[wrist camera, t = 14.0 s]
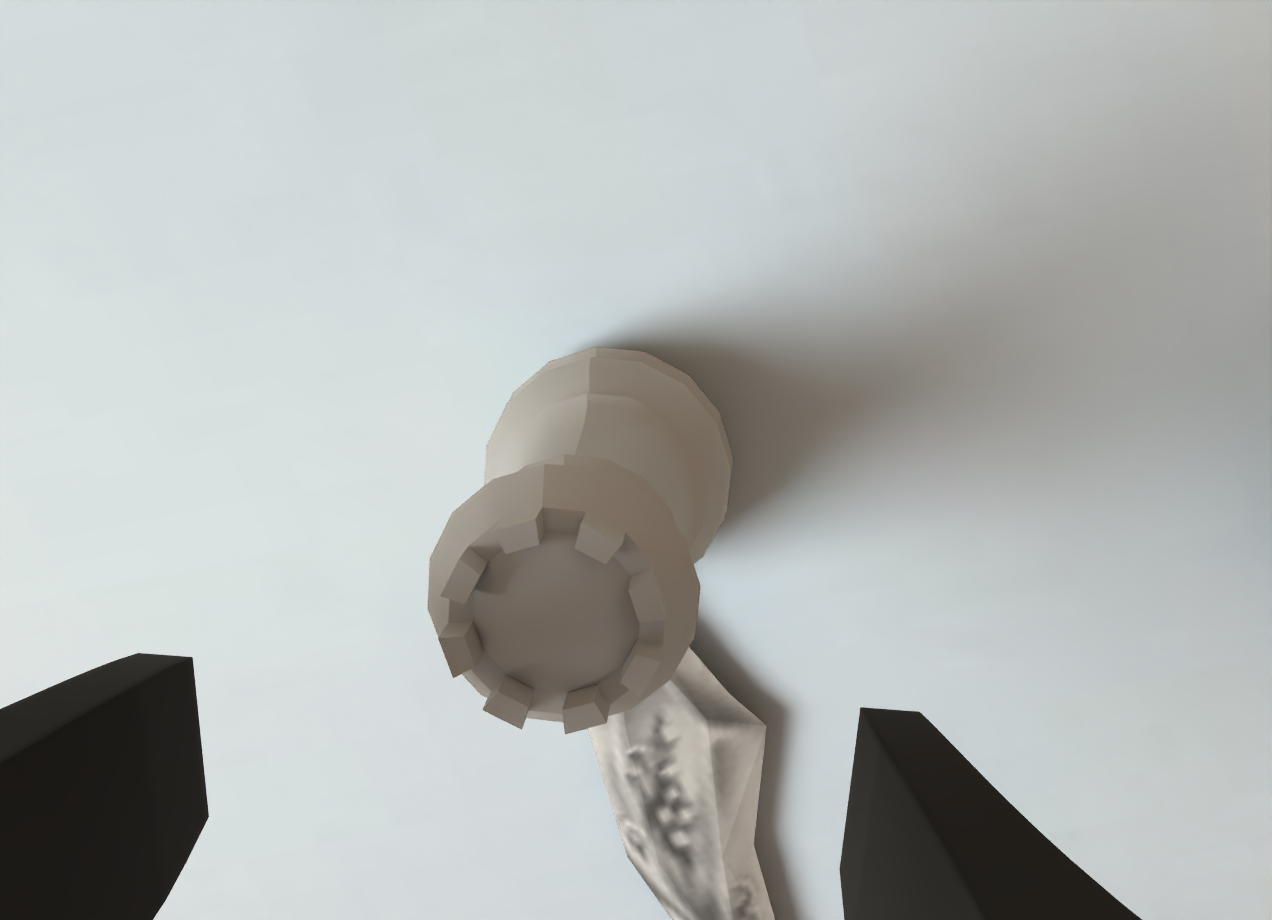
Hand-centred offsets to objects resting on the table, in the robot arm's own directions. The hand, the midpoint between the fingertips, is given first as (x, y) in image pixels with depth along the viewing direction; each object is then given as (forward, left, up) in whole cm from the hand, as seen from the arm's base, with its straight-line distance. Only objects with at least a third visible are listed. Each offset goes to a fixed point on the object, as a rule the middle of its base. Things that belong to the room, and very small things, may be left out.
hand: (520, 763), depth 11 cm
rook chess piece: (+1, 0, -9) cm, 9 cm away
